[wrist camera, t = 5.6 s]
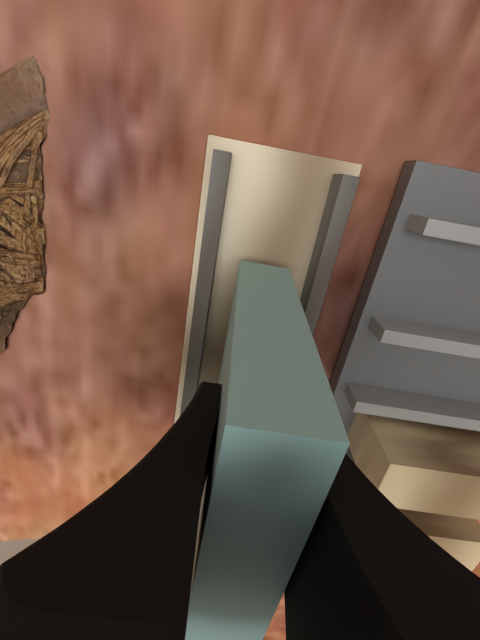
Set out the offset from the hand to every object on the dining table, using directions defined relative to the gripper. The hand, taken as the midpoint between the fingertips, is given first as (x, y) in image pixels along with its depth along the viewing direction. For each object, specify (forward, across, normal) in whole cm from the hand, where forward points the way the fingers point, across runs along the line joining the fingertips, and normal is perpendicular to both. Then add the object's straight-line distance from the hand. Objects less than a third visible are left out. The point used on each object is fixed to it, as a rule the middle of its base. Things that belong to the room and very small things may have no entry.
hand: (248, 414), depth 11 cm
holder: (+7, 0, 0) cm, 7 cm away
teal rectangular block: (+5, 0, 0) cm, 5 cm away
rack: (+7, -10, +1) cm, 12 cm away
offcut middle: (+6, -10, +4) cm, 12 cm away
